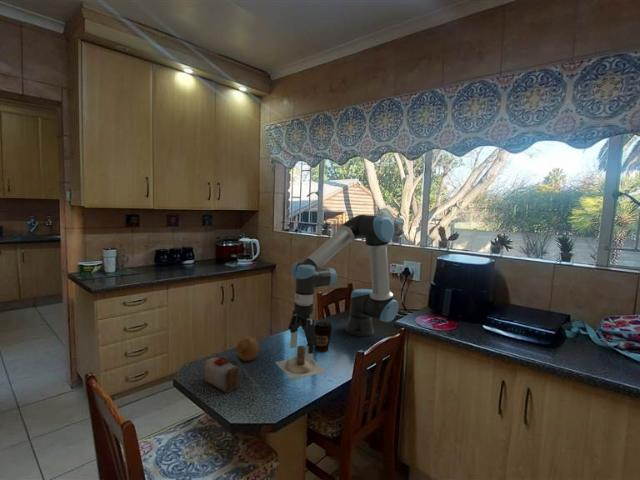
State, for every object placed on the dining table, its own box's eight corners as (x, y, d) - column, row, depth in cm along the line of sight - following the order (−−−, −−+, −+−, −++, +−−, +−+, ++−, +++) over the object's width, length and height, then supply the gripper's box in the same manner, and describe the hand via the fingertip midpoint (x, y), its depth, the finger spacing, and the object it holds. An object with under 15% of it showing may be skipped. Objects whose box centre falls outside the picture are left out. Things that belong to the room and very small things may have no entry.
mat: (307, 356, 154) (308, 355, 154) (327, 372, 141) (327, 371, 141) (274, 363, 146) (274, 362, 146) (291, 381, 132) (291, 379, 132)
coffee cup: (328, 355, 156) (330, 327, 155) (310, 353, 158) (312, 325, 157) (332, 348, 165) (333, 321, 164) (315, 345, 166) (316, 319, 165)
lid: (306, 357, 151) (307, 339, 151) (320, 369, 141) (321, 350, 140) (281, 363, 145) (281, 344, 144) (294, 376, 135) (295, 356, 134)
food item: (200, 382, 128) (201, 356, 127) (218, 374, 135) (219, 349, 134) (224, 395, 120) (225, 368, 119) (242, 386, 127) (243, 360, 126)
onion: (239, 353, 153) (239, 332, 152) (261, 355, 153) (262, 333, 152) (232, 364, 143) (233, 340, 142) (256, 365, 143) (257, 342, 142)
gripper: (282, 296, 149) (279, 343, 151) (310, 313, 128) (307, 368, 130) (297, 294, 153) (295, 341, 155) (328, 311, 132) (324, 364, 134)
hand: (300, 353), depth 143 cm, fingers open, 13 cm apart
